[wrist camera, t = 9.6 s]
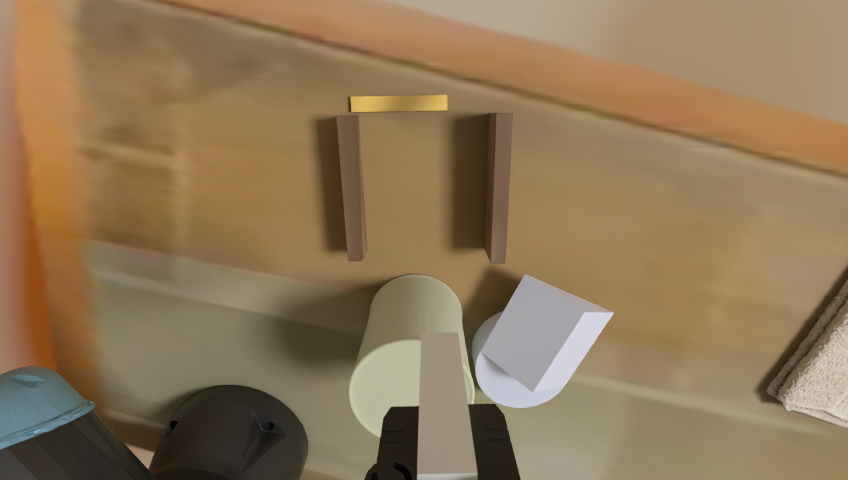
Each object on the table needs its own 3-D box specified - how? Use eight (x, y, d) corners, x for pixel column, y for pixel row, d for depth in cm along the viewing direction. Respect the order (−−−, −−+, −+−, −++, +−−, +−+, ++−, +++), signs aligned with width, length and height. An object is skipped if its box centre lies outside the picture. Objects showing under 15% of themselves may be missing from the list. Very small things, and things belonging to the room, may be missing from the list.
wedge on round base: (516, 260, 37) (456, 366, 41) (535, 290, 31) (462, 413, 34) (598, 296, 38) (532, 396, 42) (632, 332, 32) (551, 447, 35)
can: (442, 367, 41) (448, 466, 29) (357, 340, 40) (329, 431, 28) (476, 291, 38) (497, 368, 27) (386, 260, 37) (367, 326, 26)
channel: (354, 249, 37) (345, 265, 33) (342, 97, 33) (331, 94, 29) (497, 248, 37) (505, 263, 33) (503, 94, 32) (513, 91, 29)
